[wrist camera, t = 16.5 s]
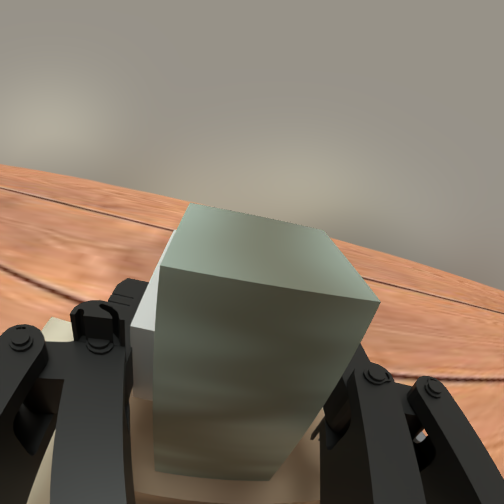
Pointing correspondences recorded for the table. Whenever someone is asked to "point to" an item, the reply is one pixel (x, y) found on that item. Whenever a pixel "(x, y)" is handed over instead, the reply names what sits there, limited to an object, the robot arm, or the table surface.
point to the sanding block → (244, 360)
